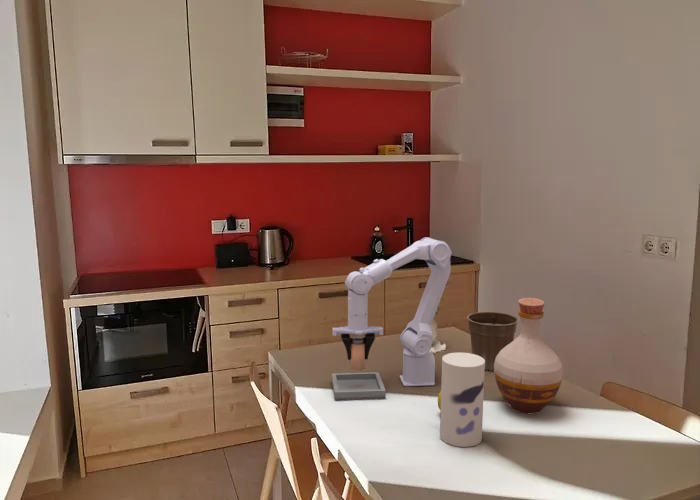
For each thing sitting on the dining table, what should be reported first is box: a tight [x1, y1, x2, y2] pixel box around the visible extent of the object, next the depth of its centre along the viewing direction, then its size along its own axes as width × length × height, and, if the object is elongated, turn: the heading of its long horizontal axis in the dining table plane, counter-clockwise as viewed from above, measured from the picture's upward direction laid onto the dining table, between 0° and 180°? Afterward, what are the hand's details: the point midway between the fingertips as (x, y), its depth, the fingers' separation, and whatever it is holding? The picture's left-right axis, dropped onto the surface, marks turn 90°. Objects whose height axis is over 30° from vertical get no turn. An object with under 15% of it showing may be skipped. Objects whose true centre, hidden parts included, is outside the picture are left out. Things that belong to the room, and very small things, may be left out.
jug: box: [493, 297, 564, 414], centre depth 153 cm, size 20×18×30 cm
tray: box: [331, 371, 387, 402], centre depth 166 cm, size 14×14×2 cm
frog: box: [418, 302, 447, 355], centre depth 202 cm, size 12×13×18 cm
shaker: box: [349, 335, 366, 371], centre depth 165 cm, size 5×5×9 cm
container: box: [439, 352, 486, 448], centre depth 136 cm, size 10×10×20 cm
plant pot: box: [466, 311, 519, 372], centre depth 186 cm, size 16×16×16 cm
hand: (357, 358), depth 165 cm, fingers closed on shaker, 4 cm apart
